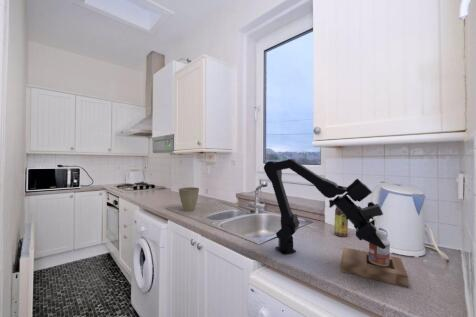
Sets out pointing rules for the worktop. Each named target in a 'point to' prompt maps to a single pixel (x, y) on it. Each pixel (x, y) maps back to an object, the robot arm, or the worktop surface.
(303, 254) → the worktop surface
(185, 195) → the plant pot
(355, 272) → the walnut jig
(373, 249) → the pill bottle
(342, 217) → the sauce bottle
